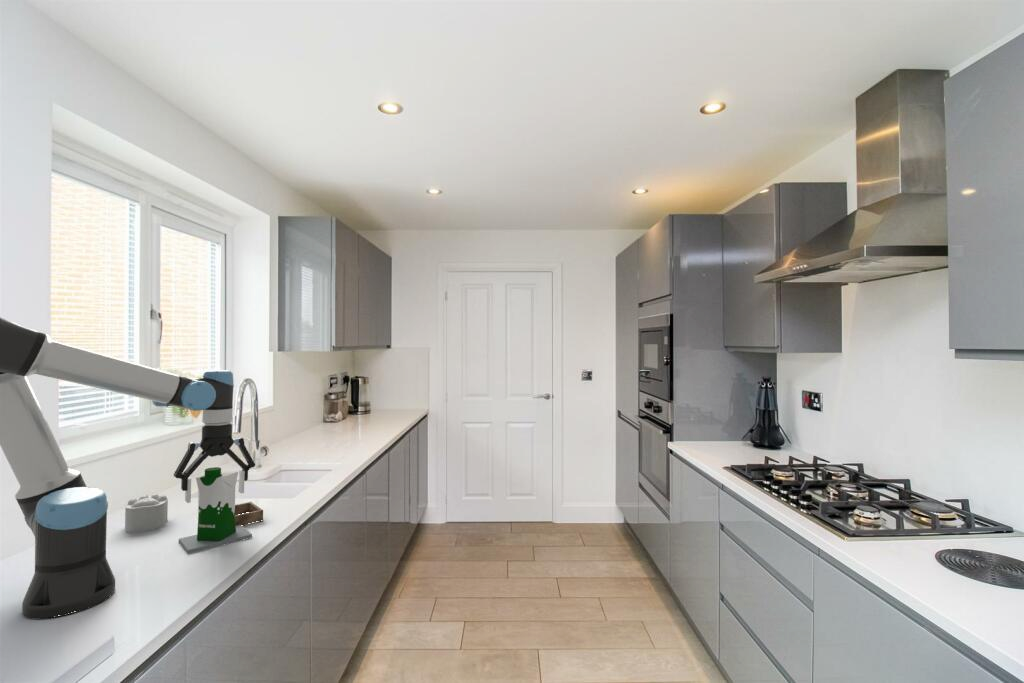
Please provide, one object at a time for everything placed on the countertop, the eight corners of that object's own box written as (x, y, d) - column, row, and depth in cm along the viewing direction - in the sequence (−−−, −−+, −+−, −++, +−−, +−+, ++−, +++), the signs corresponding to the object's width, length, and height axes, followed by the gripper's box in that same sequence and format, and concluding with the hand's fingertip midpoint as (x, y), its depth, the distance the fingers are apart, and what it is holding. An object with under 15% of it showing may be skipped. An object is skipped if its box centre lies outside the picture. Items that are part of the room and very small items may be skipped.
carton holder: (220, 530, 148) (220, 519, 148) (209, 520, 156) (209, 509, 156) (263, 521, 156) (263, 510, 156) (250, 512, 165) (250, 501, 165)
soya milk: (191, 541, 137) (192, 470, 137) (213, 529, 146) (214, 463, 146) (220, 543, 136) (221, 471, 136) (241, 530, 145) (242, 463, 145)
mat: (187, 553, 131) (187, 550, 131) (178, 542, 139) (178, 538, 139) (252, 537, 143) (252, 534, 143) (240, 527, 150) (240, 524, 150)
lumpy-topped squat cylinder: (122, 534, 145) (122, 504, 145) (130, 520, 156) (131, 493, 157) (164, 528, 150) (164, 499, 150) (170, 515, 161) (170, 489, 162)
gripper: (259, 418, 153) (257, 486, 152) (162, 426, 135) (160, 502, 134) (267, 420, 147) (265, 491, 147) (168, 429, 130) (166, 509, 129)
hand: (215, 496), depth 141 cm, fingers open, 13 cm apart
